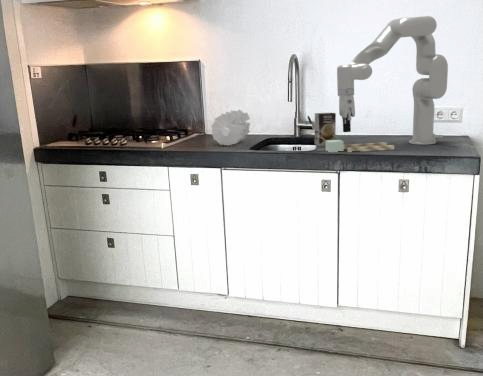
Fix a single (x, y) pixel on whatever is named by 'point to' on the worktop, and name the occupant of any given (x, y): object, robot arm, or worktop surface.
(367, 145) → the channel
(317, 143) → the coffee box
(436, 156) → the worktop surface
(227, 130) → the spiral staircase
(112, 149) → the worktop surface
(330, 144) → the sage block
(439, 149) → the worktop surface
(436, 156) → the worktop surface
